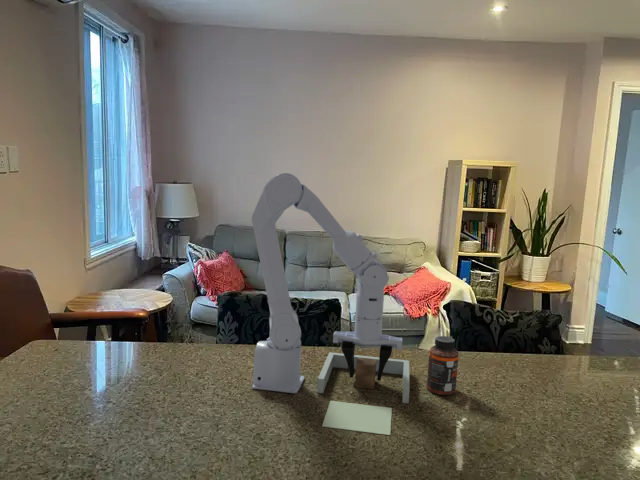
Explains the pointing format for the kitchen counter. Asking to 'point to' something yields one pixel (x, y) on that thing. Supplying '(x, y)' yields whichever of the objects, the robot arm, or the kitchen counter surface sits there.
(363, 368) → the block
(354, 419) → the mat
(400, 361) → the u-shaped barrier
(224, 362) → the kitchen counter surface
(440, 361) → the supplement bottle
